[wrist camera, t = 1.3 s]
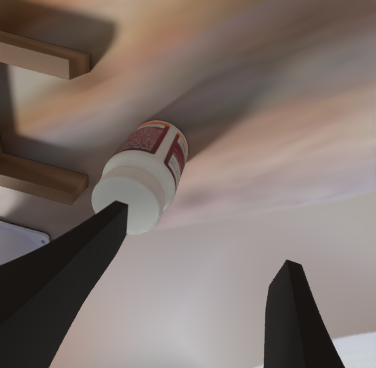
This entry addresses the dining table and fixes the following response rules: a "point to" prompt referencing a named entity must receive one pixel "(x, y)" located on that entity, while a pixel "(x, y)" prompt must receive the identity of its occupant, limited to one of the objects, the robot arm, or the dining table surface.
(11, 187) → the walnut corral
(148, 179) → the pill bottle
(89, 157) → the dining table surface
